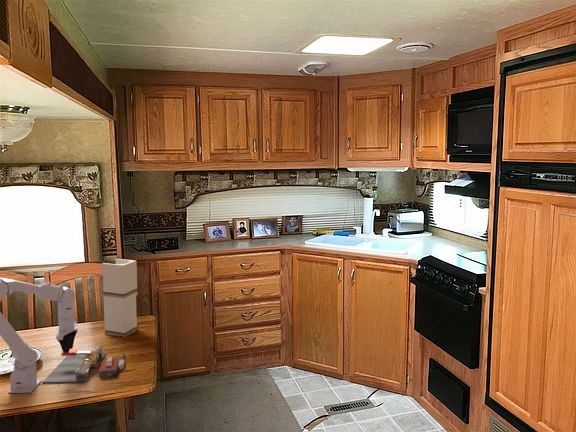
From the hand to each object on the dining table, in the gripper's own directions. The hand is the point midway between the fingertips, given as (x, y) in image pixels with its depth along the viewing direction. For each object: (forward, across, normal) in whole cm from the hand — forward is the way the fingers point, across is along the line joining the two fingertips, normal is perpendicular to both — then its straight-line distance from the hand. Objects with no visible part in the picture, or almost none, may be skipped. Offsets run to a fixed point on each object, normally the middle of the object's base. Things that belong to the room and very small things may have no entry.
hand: (67, 350), depth 189 cm
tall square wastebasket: (+10, +44, -8) cm, 45 cm away
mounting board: (+9, +4, -1) cm, 10 cm away
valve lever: (+4, +4, -2) cm, 6 cm away
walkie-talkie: (+10, +5, -16) cm, 19 cm away
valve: (+9, +4, -7) cm, 13 cm away
